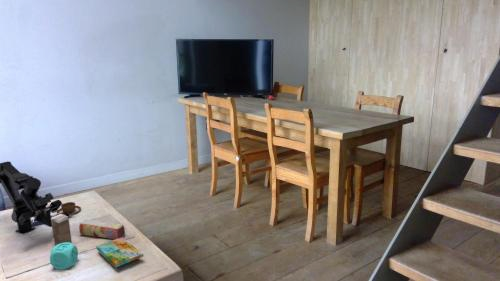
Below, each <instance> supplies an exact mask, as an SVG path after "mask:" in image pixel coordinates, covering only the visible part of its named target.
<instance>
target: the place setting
mask: <svg viewBox="0 0 500 281" xmlns="http://www.w3.org/2000/svg"><path fill="white" fill-rule="evenodd" d="M76 209H78V210H77V211H75V210H76ZM74 211H75V212H74ZM81 211H82V208H81V206H79V205H76V203H75V202H73V201H70V202H69V201H68V202H64V203H62V205H61V206H60V208H59V209H58V210H56V211H54V212H51V213H52V214H55V213H56V214H57V215H58V213H59V214H63V215H64V214H68V215H71V216H74V215H77V214H79V213H80V212H81Z"/></svg>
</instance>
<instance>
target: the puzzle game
mask: <svg viewBox="0 0 500 281" xmlns="http://www.w3.org/2000/svg"><path fill="white" fill-rule="evenodd" d="M95 249H96V250H97V251H98V253H100V254H101V255H102V256H103V257H104V258H105V259H106V260H107V261H108V262H109V263H110V264H111V265H112V266H113V267H115V268H117V267H120V266H122V265H125V264H128V263H131V262H132V261H136V260H139V259H141V258H143V257H144V253H142V252H141V251H140V250H139V249H138V248H136V247H135V246H134V245H133V244H131V243H130V242H129V241H128V240H126V239H125V237H124V236H123V237H121V238H118V239H116V240H115V239H112V240H110V241H108V242H104V243H101V244H98V245H96V246H95Z"/></svg>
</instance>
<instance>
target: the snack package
mask: <svg viewBox="0 0 500 281" xmlns="http://www.w3.org/2000/svg"><path fill="white" fill-rule="evenodd" d="M78 228H79V235H82V236H90V237H96V238H104V239H109V240H110V239H111V240H116V239H118V238H121V237H123V238H124V236H125V234H126V233H125V232H126V230H125V226H124V224H122V223H114V222H106V221H99V220H98V221H97V220H93V219H83V220H81V221H80V223H79V227H78Z"/></svg>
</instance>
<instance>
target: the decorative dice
mask: <svg viewBox="0 0 500 281" xmlns="http://www.w3.org/2000/svg"><path fill="white" fill-rule="evenodd" d="M50 251H51V252H50V254H49V262H50V265H51V266H52V267H53V268H54V269H56V270H61V271H62V270H67V269H71V268H72V267H74V266H75V265H76V263H77V262H78V257H79V249H78V247H77V245H75V244H74V243H73V242H72V243H69V242H65V243H60V244H58V245H56V246H55V245H54V246H53V248H52V249H51V250H50Z"/></svg>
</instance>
